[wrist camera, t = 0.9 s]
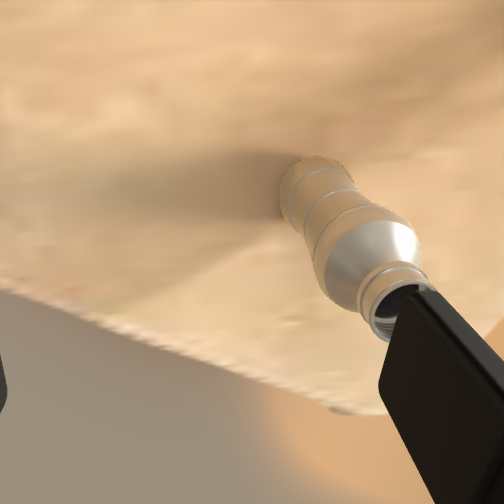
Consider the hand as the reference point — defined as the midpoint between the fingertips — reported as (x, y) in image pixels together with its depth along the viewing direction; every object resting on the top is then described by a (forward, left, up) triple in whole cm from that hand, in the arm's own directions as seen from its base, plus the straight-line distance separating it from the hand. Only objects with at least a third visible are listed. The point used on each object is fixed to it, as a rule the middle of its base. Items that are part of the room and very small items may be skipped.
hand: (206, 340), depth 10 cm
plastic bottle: (+5, +10, -29) cm, 31 cm away
